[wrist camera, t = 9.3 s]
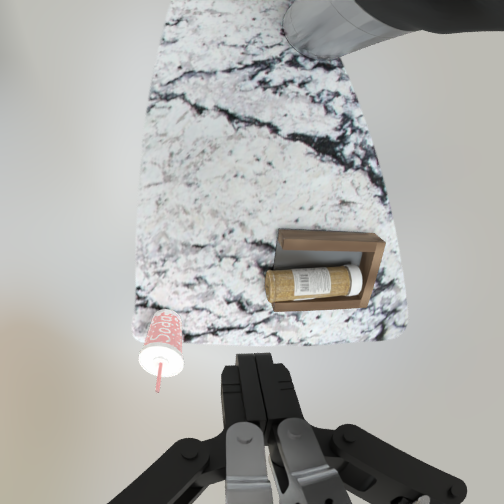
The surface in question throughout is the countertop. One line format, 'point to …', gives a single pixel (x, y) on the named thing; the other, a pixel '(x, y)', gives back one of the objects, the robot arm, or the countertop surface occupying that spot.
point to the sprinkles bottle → (312, 283)
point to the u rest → (328, 263)
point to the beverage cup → (163, 346)
